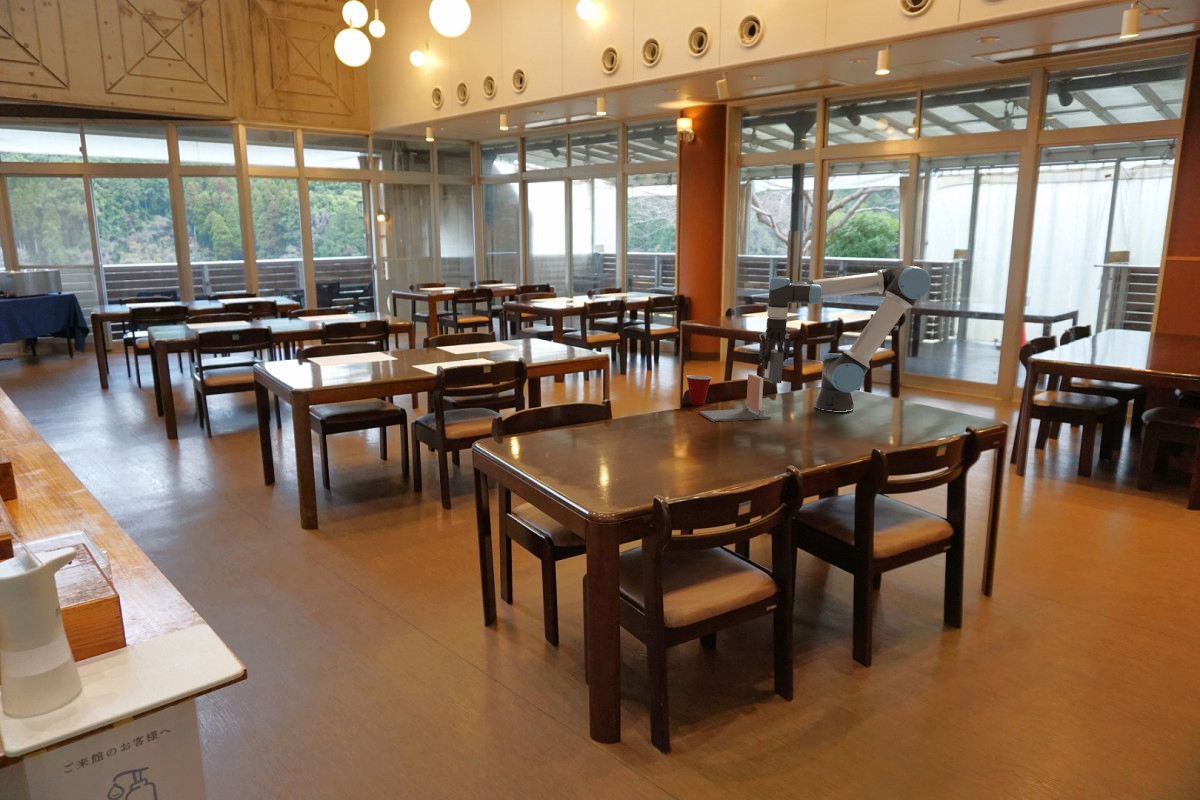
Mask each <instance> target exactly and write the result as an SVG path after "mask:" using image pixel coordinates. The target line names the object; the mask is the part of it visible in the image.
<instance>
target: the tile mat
mask: <svg viewBox="0 0 1200 800" xmlns="http://www.w3.org/2000/svg"><path fill="white" fill-rule="evenodd" d="M746 403H747V402H744V406H743V407H744V408H741V409H740V408H737V409H736V408H735V409H718V410H716V409H715V410H700V411H699V414H700V415H701V416H703V417H704V418H706V419H707V418H708V419H707V420H709V421H711V422H712V421H713V422H712V423H715V421H723V422H735V421H736V422H737V421H738V420H742V421H754V420H753V419H761V420H768V419H767V418H771V419H772V416H771V415H769V414H767V413H765V410H763V409H762V410H759V414H758V413H756V412H754V411H752V410H750V409H749V408H747V407H746Z"/></svg>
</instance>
